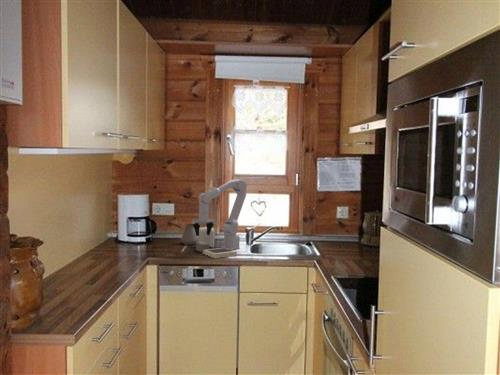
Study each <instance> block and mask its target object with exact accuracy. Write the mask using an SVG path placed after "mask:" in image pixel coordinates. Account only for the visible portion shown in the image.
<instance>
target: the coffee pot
mask: <svg viewBox="0 0 500 375" xmlns="http://www.w3.org/2000/svg"><path fill="white" fill-rule="evenodd" d="M168 225H169V227H171V226H174V227H177V228H179V229H182V230H184V232H183V233H182V236H181V238H180V242H181V243H183V245H185V246H191V245H192V246H193V245H196V243H197V242H198V236H196V232H195V229H194V227H193V224H192V223H185V224H184V226H185V227H183V226H180V225H178V224H175V223H173V222H170V223H169V224H168Z"/></svg>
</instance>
